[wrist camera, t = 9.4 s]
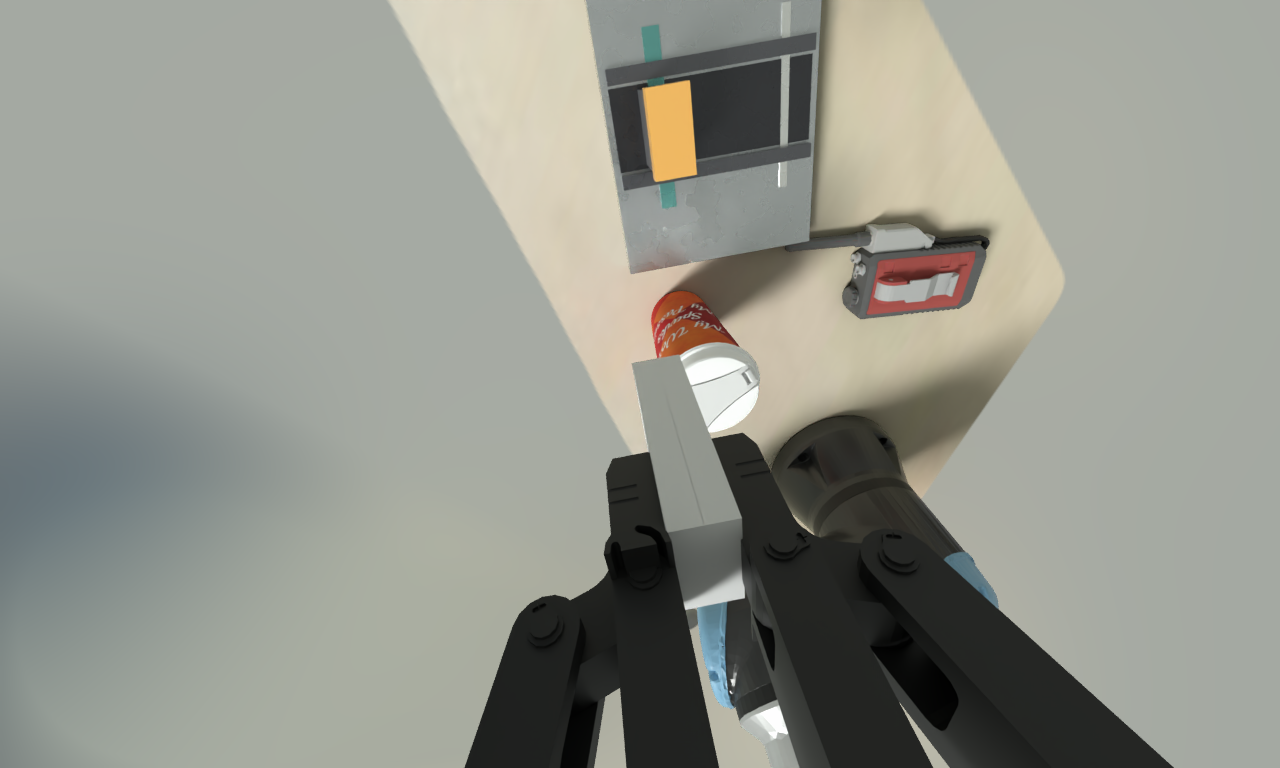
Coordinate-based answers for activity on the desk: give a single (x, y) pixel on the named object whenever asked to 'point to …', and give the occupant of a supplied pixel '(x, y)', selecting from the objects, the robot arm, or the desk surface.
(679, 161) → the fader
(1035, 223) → the desk surface
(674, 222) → the console board
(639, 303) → the desk surface
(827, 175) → the desk surface
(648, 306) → the desk surface
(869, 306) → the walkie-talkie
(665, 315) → the paper cup
